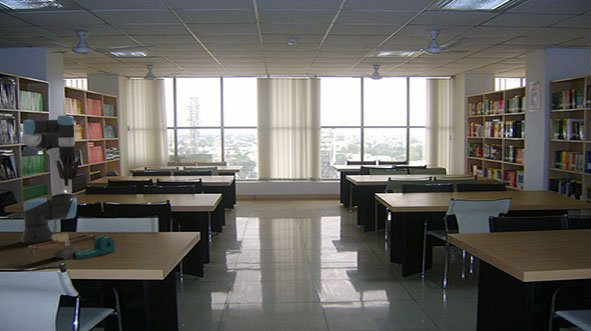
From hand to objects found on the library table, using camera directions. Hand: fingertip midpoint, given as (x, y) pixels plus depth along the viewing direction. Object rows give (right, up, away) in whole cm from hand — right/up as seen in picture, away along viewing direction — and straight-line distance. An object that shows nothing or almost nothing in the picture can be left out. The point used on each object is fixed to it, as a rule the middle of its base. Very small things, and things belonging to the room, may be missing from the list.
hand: (69, 192), depth 250 cm
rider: (+4, -24, -18) cm, 30 cm away
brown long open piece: (+5, -30, -17) cm, 35 cm away
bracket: (+18, -30, -13) cm, 37 cm away
